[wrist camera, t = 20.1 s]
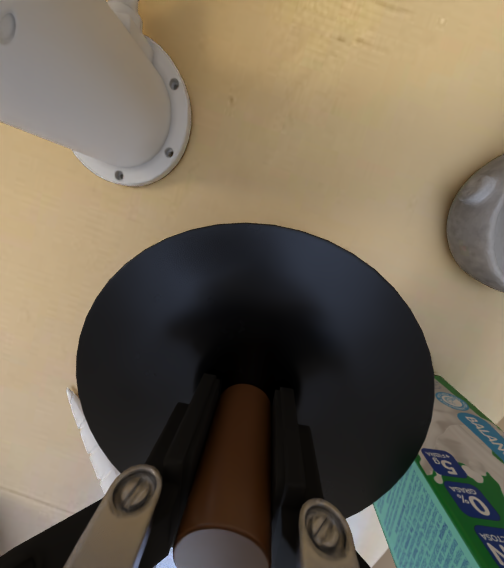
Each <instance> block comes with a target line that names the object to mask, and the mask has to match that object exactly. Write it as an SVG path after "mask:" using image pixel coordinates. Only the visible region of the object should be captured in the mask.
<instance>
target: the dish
mask: <svg viewBox="0 0 504 568" xmlns="http://www.w3.org/2000/svg"><path fill="white" fill-rule="evenodd" d="M447 239H448V244H449V248H450V251H451V253H452V256H453V258H454V259H455V261H456V262H457V264H458V265H459V266H460V267H461V268H462V269H463V270H464V271H465V272H466V273H468V274H469V275H470V276H471V277H473V278H474V279H476V280H478V281H480V282H481V283H483V284H485V285H487V286H489V287H491V288H493V289H496V290H498V291H501V292H504V154H503V155H501V156H499V157H497V158H495V159H494V160H492V161H490V162H489V163H487V164H486V165H485V166H483V167H482V168H480V169H479V170H478V171H477V172H476V173H475V174H473V175H472V176H471V177H470V178H469V179H468V180H467V181H466V183H465V184H464V185H463V186H462V187H461V189H460V190H459V192H458V193H457V195H456V197H455V199H454V201H453V202H452V205H451V207H450V211H449V214H448V218H447Z"/></svg>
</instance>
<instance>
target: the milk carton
mask: <svg viewBox="0 0 504 568" xmlns="http://www.w3.org/2000/svg"><path fill="white" fill-rule="evenodd" d="M434 382H435V400H434V407H433V414H432V420H431V423H430V426H429V429H428V433H427V436H426V439H425V441H424V443H423V445H422V447H421V449H420V451H419V453H418V455H417V457H416V459H415V460H414V462H413V463H412V465H411V466H410V467H409V469H408V470H407V472H406V473H405V475H404V476H403V477H402V478H401V479H400V480H399V481H398V482H397V483H396V484H395V485H394V486H393V487H392V489H390V490H389V491H388V492H387V493H386V494H384V495H383V496H382V497H381V498H380V499H378V500H377V501H376V502H374V503H373V505H374V508H375V511H376V514H377V516H378V519H379V522H380V524H381V527H382V530H383V533H384V535H385V538H386V541H387V543H388V546H389V549H390V551H391V554H392V557H393V560H394V562H395V565H396V568H504V432H503V431H502V430H501V429H500V428H499V427H498V426H497V425H495V424H494V423H493V422H492V421H491V420H490V419H489V418H487V417H486V416H485V415H484V414H483V413H482V412H481V411H480V410H478V409H477V408H476V407H475V406H474V405H473V404H472V403H470V402H469V401H468V400H467V399H466V398H465V397H464V396H462V395H461V394H460V393H459V392H458V391H457V390H456V389H454V388H453V387H452V386H451V385H450V384H449V383H448V382H446V381H445V380H444V379H443V378H442V377H441V376H434Z"/></svg>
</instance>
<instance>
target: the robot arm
mask: <svg viewBox="0 0 504 568" xmlns="http://www.w3.org/2000/svg"><path fill="white" fill-rule="evenodd" d="M138 1H139V0H108V2H106V0H0V122H2V123H5V124H7V125H10V126H13V127H15V128H18V129H20V130H23V131H25V132H28V133H31V134H33V135H36V136H38V137H41V138H43V139H46V140H49V141H51V142H54V143H56V144H59V145H61V146H64V147H67V148H69V149H72V151H73V153H74V154H75V156H76V157H77V158H78V159H79V160H80V161H81V162H82V164H83V165H84V166H85V167H87V168H88V169H89V170H90V171H91V172H93V173H94V174H96V175H97V176H99V177H101V178H103V179H104V180H107V181H110V182H113V183H116V184H120V185H124V186H143V185H148V184H151V183H153V182H156V181H158V180H160V179H162V178H163V177H164V176H166V175H167V174H168V173H170V172H171V170H172V169H173V168H174V167H175V166H176V165H177V164H178V162H179V160H180V159H181V157H182V155H183V154H184V152H185V149H186V146H187V143H188V141H189V136H190V130H191V106H190V99H189V95H188V92H187V89H186V86H185V83H184V81H183V79H182V77H181V75H180V73H179V71H178V69H177V68H176V66H175V64H174V63H173V61H172V60H171V58H170V57H169V56H168V54H167V53H166V52H165V51H164V50H163V49H162V48H161V47H160V46H159V45H158V44H157V43H156V42H154V41H153V40H152V39H150V38H149V37H148V36H146V35H143V33H142V27H143V22H142V19H141V17H140V16H139V14H138ZM177 87H178V88H177ZM176 88H177V89H176ZM171 153H174V154H173V156H172V157H171ZM123 176H124V177H123ZM219 388H220V379H216V375H212V374H206V373H204V374H203V376H202V378H201V380H200V383H199V385H198V387H197V389H196V391H195V393H194V395H193V398H192V400H191V402H190V404H187V403H181V402H178V403H177V405H176V406H175V408H174V410H173V412H172V414H171V416H170V417H169V419H168V421H167V423H166V425H165V427H164V429H163V430H162V432H161V434H160V436H159V438H158V440H157V442H156V443H155V445H154V447H153V449H152V451H151V453H150V455H149V456H148V458H147V460H146V462H145V464H138V465H135V466H132V467H130V468H128V469H126V470H124V471H123V472H122V473H121V474H120V475H119V476H117V477H116V479H115V480H114V481H113V483H112V484H111V485H110V487H109V489H108V491H107V492H106V494H105V496H104V497H103V498H102V499H101V500H99V501H97V502H95V503H93V504H92V505H90V506H88V507H86V508H84V509H83V510H81V511H79V512H77V513H75V514H74V515H72V516H70V517H68V518H67V519H65V520H63V521H61V522H59V523H58V524H56V525H54V526H52V527H50V528H49V529H47V530H45V531H43V532H41V533H40V534H38V535H36V536H34V537H32V538H31V539H29V540H27V541H25V542H24V543H22V544H20V545H18V546H16V547H15V548H13V549H11V550H10V551H8V552H7V553H5V554H4V555H3V556H1V557H0V568H156V565H157V564H158V563H159V562H160V561H161V560H163V559H164V558H165V557H166V556H168V554H169V551H170V548H171V547H173V545H174V541H175V538H176V535H177V532H178V528H179V525H180V522H181V519H182V515H183V512H184V509H185V506H186V503H187V499H188V496H189V493H190V490H191V487H192V483H193V480H194V477H195V474H196V470H197V467H198V464H199V461H200V458H201V454H202V451H203V448H204V445H205V441H206V438H207V435H208V432H209V429H210V425H211V422H212V419H213V416H214V412H215V409H216V406H217V403H218V396H219ZM271 513H272V566H271V568H370V566H369V565H368V564H367V563H366V562H365V561H364V559H363V558H362V557H361V556H360V555H359V554H358V553H357V551H356V550H355V546H354V541H353V537H352V533H351V530H350V527H349V525H348V523H347V521H346V519H345V518H344V516H343V514H342V513H341V512H340V511H339V510H338V509H337V508H336V507H335V506H334V505H332V504H331V503H330V502H328V501H326V500H324V496H323V491H322V486H321V481H320V476H319V470H318V465H317V460H316V455H315V449H314V444H313V439H312V434H311V429H310V427H309V426H306V425H301V424H298V420H297V413H296V405H295V398H294V390H293V389H291V388H285V387H280V390H276V389H275V393H274V398H273V403H272V408H271Z"/></svg>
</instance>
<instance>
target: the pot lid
mask: <svg viewBox="0 0 504 568" xmlns="http://www.w3.org/2000/svg"><path fill="white" fill-rule="evenodd" d="M204 373H206V374H212V375H216V379H220V388H219V396H218V403H217V406H216V409H215V412H214V416H213V419H212V422H211V425H210V429H209V432H208V435H207V438H206V441H205V445H204V448H203V451H202V454H201V458H200V461H199V464H198V467H197V470H196V474H195V477H194V480H193V483H192V487H191V490H190V493H189V496H188V499H187V503H186V506H185V509H184V512H183V515H182V519H181V522H180V525H179V528H178V532H177V535H176V538H175V541H174V545H173V559H174V562H175V565H176V567H177V568H271V566H272V513H271V408H272V403H273V398H274V393H275V389H276V390H280V387H285V388H291V389H293V390H294V398H295V405H296V413H297V420H298V424H301V425H306V426H309V427H310V429H311V434H312V439H313V444H314V449H315V455H316V460H317V465H318V470H319V476H320V481H321V486H322V491H323V496H324V500H326V501H328V502H330V503H331V504H332V505H334V506H335V507H336V508H337V509H338V510H339V511H340V512H341V513H342V514H343V516H344V518H345V519H346V518H348V517H350V516H352V515H354V514H356V513H358V512H360V511H362V510H363V509H365V508H366V507H368V506H370V505H371V504H373V503H374V502H376V501H377V500H378V499H380V498H381V497H382V496H383V495H384V494H386V493H387V492H388V491H389V490H390V489H392V487H393V486H394V485H395V484H396V483H397V482H398V481H399V480H400V479H401V478H402V477H403V476H404V475H405V473H406V472H407V470H408V469H409V467H410V466H411V465H412V463H413V462H414V460H415V459H416V457H417V455H418V453H419V451H420V449H421V447H422V445H423V443H424V441H425V439H426V436H427V433H428V429H429V426H430V423H431V420H432V414H433V407H434V400H435V382H434V371H433V366H432V360H431V355H430V351H429V349H428V346H427V343H426V340H425V337H424V335H423V332H422V329H421V328H420V326H419V324H418V322H417V320H416V319H415V317H414V315H413V313H412V311H411V309H410V308H409V307H408V305H407V304H406V303H405V301H404V300H403V299H402V297H401V296H400V295H399V294H398V292H397V291H396V290H395V288H394V287H393V286H392V285H391V284H390V283H389V282H387V281H386V280H385V279H384V278H383V277H382V276H381V275H380V274H379V273H378V272H377V271H376V270H375V269H374V268H372V267H371V266H369V265H368V264H367V263H365V262H364V261H363V260H361V259H360V258H358V257H357V256H356V255H354V254H353V253H351V252H349V251H347V250H345V249H343V248H341V247H340V246H338V245H336V244H334V243H332V242H330V241H328V240H325V239H323V238H320V237H317V236H314V235H312V234H309V233H306V232H303V231H300V230H295V229H291V228H286V227H281V226H277V225H270V224H257V223H231V224H217V225H212V226H207V227H202V228H197V229H192V230H189V231H186V232H183V233H180V234H177V235H175V236H172V237H169V238H166V239H164V240H162V241H161V242H159V243H157V244H155V245H153V246H151V247H149V248H147V249H145V250H144V251H142V252H141V253H140V254H138V255H137V256H136V257H134V258H133V259H132V260H130V261H129V262H127V263H126V264H125V265H124V266H123V267H122V268H121V269H120V270H119V271H118V272H117V273H116V274H115V275H114V276H113V277H112V278H111V279H110V280H109V281H108V283H107V284H106V285H105V287H104V288H103V289H102V291H101V292H100V293H99V295H98V296H97V298H96V299H95V301H94V303H93V305H92V307H91V309H90V311H89V313H88V315H87V317H86V319H85V322H84V325H83V328H82V331H81V334H80V338H79V344H78V350H77V356H76V379H77V387H78V395H79V399H80V403H81V406H82V410H83V414H84V416H85V419H86V421H87V424H88V426H89V428H90V431H91V433H92V434H93V436H94V438H95V440H96V442H97V443H98V445H99V447H100V448H101V450H102V451H103V453H104V454H105V455H106V457H107V458H108V460H109V461H110V462H111V464H112V465H113V466H114V467H115V468H116V469H117V470H118V471H119V472H120V474H121V473H122V472H123V471H124V470H126V469H128V468H130V467H132V466H135V465H138V464H145V462H146V460H147V458H148V456H149V455H150V453H151V451H152V449H153V447H154V445H155V443H156V442H157V440H158V438H159V436H160V434H161V432H162V430H163V429H164V427H165V425H166V423H167V421H168V419H169V417H170V416H171V414H172V412H173V410H174V408H175V406H176V405H177V403H178V402H181V403H187V404H190V402H191V400H192V398H193V395H194V393H195V391H196V389H197V387H198V385H199V383H200V380H201V378H202V376H203V374H204Z"/></svg>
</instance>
